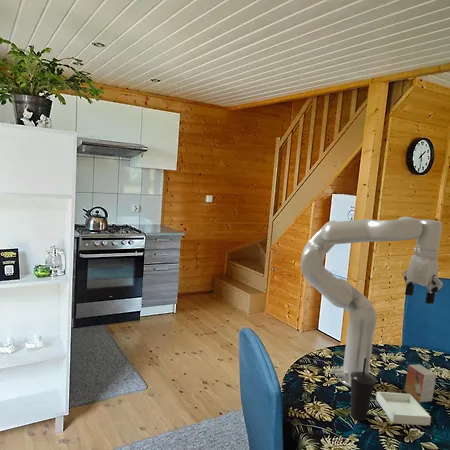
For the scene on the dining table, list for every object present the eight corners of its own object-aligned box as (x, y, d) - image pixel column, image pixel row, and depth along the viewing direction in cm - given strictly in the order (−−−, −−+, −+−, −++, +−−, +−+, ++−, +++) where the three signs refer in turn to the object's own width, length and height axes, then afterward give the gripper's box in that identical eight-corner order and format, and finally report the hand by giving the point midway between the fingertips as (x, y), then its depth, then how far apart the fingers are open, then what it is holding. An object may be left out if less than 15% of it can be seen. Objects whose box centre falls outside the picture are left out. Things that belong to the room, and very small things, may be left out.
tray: (393, 423, 128) (394, 414, 128) (376, 399, 142) (377, 391, 142) (429, 425, 128) (431, 416, 128) (409, 401, 142) (410, 393, 142)
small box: (404, 391, 150) (407, 364, 149) (416, 389, 151) (419, 363, 150) (420, 402, 142) (424, 374, 141) (432, 401, 144) (436, 373, 143)
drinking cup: (351, 407, 136) (358, 351, 133) (373, 416, 131) (381, 358, 129) (342, 416, 130) (349, 357, 128) (365, 426, 125) (373, 366, 123)
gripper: (400, 248, 151) (393, 292, 153) (437, 258, 135) (429, 307, 137) (415, 249, 154) (408, 292, 156) (454, 259, 138) (446, 306, 140)
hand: (418, 299), depth 147 cm, fingers open, 9 cm apart
